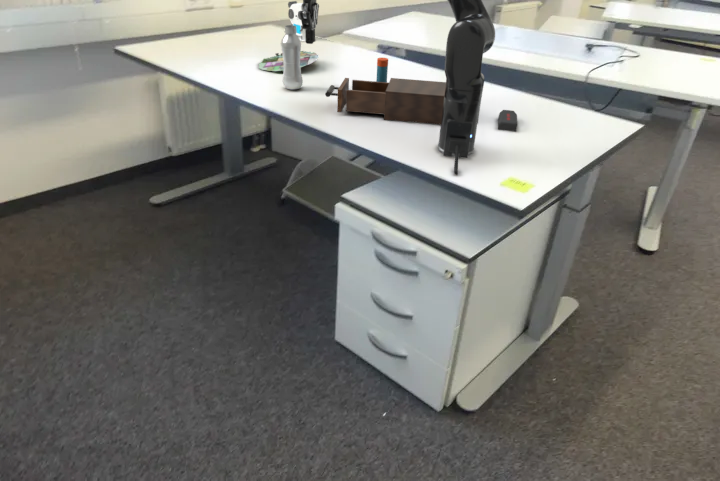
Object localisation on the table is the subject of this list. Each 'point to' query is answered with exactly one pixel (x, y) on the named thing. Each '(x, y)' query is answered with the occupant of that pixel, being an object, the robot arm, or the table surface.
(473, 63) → the robot arm
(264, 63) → the city model
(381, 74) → the glue stick
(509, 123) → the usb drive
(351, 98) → the drawer
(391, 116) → the cabinet
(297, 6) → the panda figurine
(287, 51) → the plastic bottle
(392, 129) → the table surface
